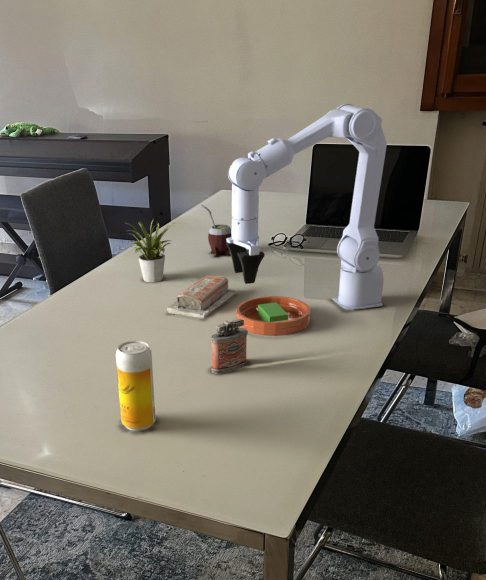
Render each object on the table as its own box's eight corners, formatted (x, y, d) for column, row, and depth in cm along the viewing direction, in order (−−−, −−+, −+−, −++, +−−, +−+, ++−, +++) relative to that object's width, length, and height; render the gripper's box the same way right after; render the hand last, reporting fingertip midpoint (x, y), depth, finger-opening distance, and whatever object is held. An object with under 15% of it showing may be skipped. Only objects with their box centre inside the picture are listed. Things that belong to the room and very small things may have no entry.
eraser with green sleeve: (274, 311, 172) (274, 300, 171) (290, 328, 163) (290, 316, 162) (256, 314, 171) (256, 302, 170) (271, 330, 163) (271, 318, 161)
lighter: (216, 375, 146) (216, 329, 141) (207, 369, 149) (207, 323, 144) (250, 365, 149) (251, 319, 144) (241, 359, 152) (241, 314, 147)
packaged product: (200, 271, 187) (236, 276, 182) (200, 289, 189) (236, 295, 185) (165, 295, 174) (203, 300, 169) (166, 314, 176) (204, 320, 172)
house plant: (113, 286, 196) (108, 224, 188) (133, 269, 207) (129, 211, 199) (163, 290, 191) (160, 227, 183) (181, 273, 202) (179, 213, 194)
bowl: (293, 306, 176) (294, 292, 174) (320, 332, 162) (321, 317, 160) (227, 315, 174) (227, 301, 172) (249, 342, 159) (249, 327, 158)
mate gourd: (236, 252, 215) (236, 200, 208) (224, 259, 209) (224, 206, 202) (214, 249, 219) (213, 198, 211) (201, 256, 213) (200, 204, 206)
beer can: (120, 417, 134) (114, 341, 127) (154, 414, 134) (149, 338, 127) (122, 433, 129) (116, 356, 121) (157, 430, 129) (152, 352, 122)
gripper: (218, 211, 165) (218, 269, 171) (236, 227, 152) (236, 290, 159) (248, 207, 165) (247, 266, 172) (269, 224, 153) (267, 286, 160)
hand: (244, 277), depth 166 cm, fingers open, 7 cm apart
